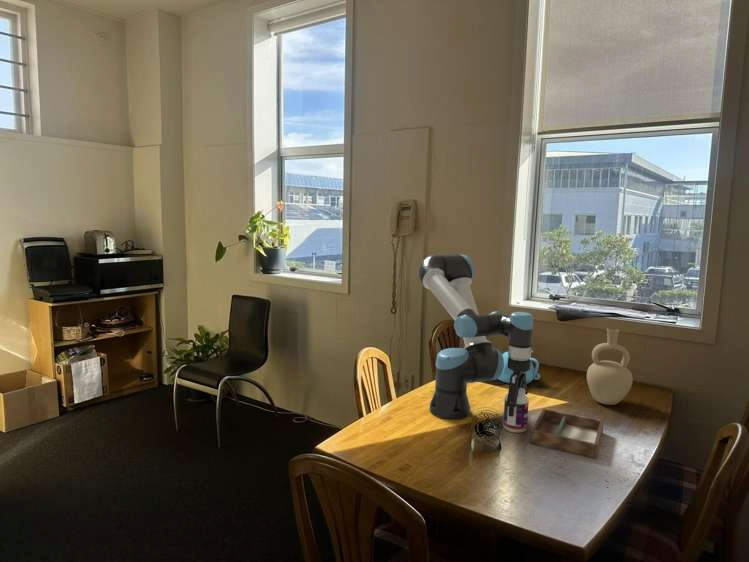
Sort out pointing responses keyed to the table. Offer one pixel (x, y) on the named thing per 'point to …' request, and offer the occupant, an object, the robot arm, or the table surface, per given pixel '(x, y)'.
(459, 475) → the table surface
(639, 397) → the table surface
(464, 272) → the robot arm
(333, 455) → the table surface
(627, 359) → the vase
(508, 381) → the teapot
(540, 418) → the crate
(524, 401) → the pill bottle
